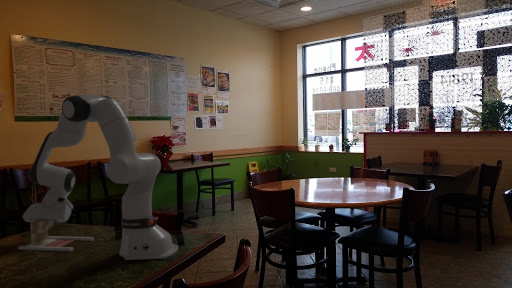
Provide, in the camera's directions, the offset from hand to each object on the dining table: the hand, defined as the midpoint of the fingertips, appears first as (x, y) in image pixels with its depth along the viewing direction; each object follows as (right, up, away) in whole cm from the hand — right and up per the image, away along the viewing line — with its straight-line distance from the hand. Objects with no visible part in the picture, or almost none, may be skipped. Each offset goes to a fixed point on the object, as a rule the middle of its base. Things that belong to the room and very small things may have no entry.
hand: (38, 230), depth 155 cm
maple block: (0, -5, +1) cm, 5 cm away
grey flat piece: (+8, -6, 0) cm, 10 cm away
